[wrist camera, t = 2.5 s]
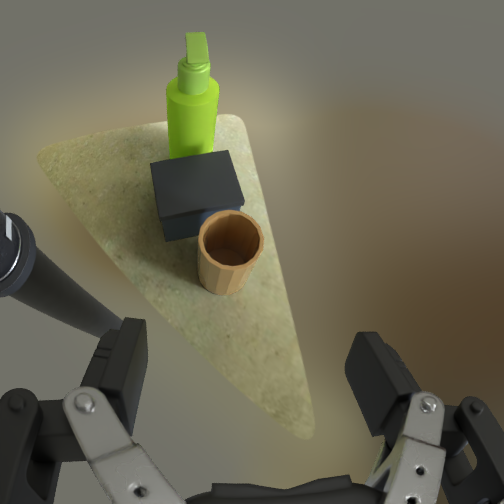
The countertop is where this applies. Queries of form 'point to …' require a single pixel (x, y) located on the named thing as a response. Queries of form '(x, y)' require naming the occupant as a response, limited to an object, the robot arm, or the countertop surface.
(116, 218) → the countertop surface
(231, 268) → the cup
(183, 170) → the dark grey box
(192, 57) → the soap dispenser
